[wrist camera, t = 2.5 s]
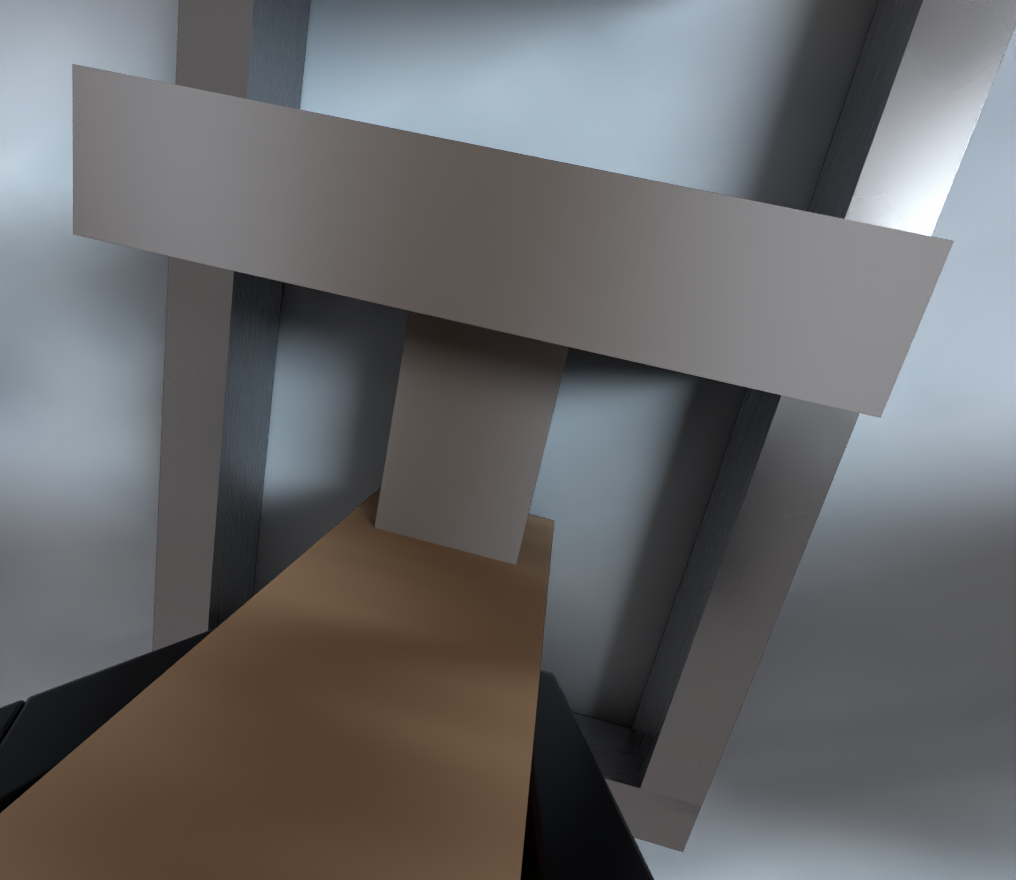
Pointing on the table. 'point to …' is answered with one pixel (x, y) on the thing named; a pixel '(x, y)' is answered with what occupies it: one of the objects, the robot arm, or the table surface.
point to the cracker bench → (752, 447)
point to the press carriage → (421, 470)
